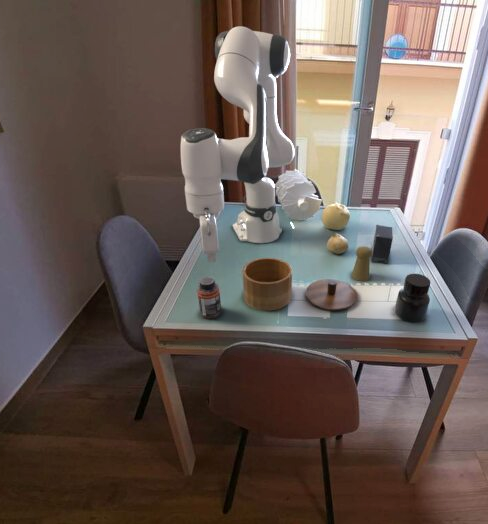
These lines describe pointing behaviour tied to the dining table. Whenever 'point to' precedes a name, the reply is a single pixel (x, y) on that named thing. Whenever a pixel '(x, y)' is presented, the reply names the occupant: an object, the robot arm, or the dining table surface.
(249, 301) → the round wooden box
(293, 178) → the spiral staircase
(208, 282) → the supplement bottle
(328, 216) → the beige round lump
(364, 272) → the tan pawn
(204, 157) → the robot arm
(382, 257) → the small box
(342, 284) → the lid
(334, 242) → the onion
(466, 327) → the dining table surface
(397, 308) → the ink bottle
